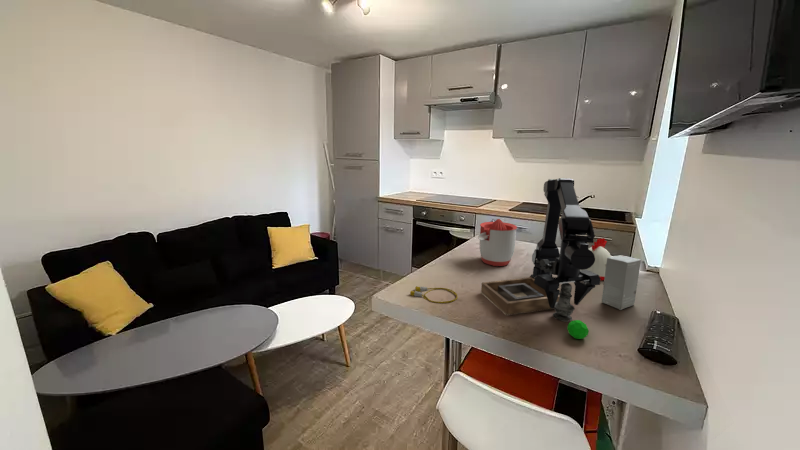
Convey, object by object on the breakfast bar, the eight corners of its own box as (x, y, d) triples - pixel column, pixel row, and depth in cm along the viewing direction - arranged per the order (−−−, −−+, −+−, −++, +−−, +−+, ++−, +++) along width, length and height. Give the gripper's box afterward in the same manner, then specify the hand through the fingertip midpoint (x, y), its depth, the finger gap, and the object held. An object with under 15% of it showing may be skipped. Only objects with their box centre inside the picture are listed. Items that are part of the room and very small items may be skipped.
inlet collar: (523, 290, 114) (524, 282, 114) (543, 304, 105) (544, 295, 104) (497, 293, 112) (498, 285, 111) (515, 307, 102) (515, 299, 101)
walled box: (530, 287, 118) (531, 277, 117) (561, 307, 103) (563, 296, 102) (481, 293, 113) (481, 282, 112) (506, 315, 98) (507, 303, 97)
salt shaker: (547, 312, 100) (552, 276, 97) (565, 311, 101) (570, 276, 98) (558, 322, 94) (563, 284, 92) (577, 321, 95) (583, 284, 92)
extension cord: (426, 284, 122) (426, 279, 121) (463, 296, 112) (463, 291, 112) (406, 295, 112) (406, 290, 112) (445, 309, 103) (445, 304, 102)
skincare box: (620, 311, 101) (629, 263, 98) (598, 301, 107) (605, 256, 104) (635, 305, 105) (644, 259, 101) (613, 296, 111) (620, 253, 107)
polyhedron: (562, 333, 89) (564, 318, 88) (576, 330, 90) (578, 315, 89) (576, 344, 84) (579, 327, 83) (591, 340, 86) (594, 324, 84)
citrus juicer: (467, 259, 147) (469, 217, 143) (497, 254, 154) (500, 214, 150) (490, 271, 133) (493, 224, 129) (521, 265, 141) (526, 220, 136)
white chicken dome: (622, 277, 128) (628, 241, 125) (600, 283, 122) (606, 245, 119) (589, 265, 140) (593, 232, 137) (567, 270, 134) (572, 236, 131)
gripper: (575, 246, 103) (569, 291, 107) (525, 251, 98) (520, 297, 102) (605, 257, 92) (597, 307, 96) (550, 263, 88) (544, 315, 91)
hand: (563, 306), depth 97 cm, fingers closed on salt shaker, 8 cm apart
